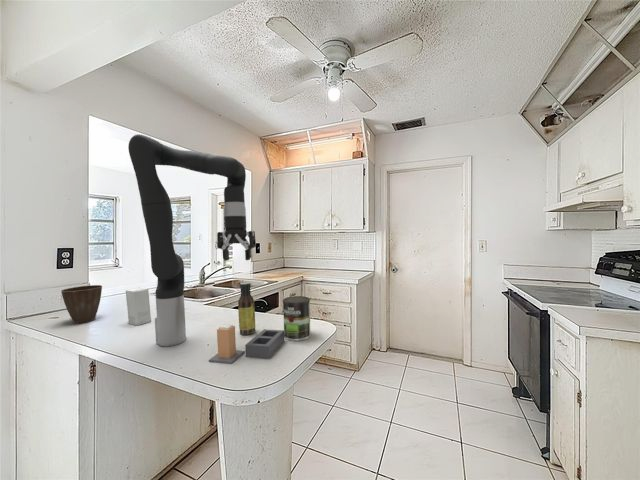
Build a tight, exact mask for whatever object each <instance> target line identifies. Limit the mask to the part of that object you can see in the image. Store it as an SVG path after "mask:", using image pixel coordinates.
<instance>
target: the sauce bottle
mask: <svg viewBox="0 0 640 480" xmlns="http://www.w3.org/2000/svg"><path fill="white" fill-rule="evenodd" d="M239 288H240V296H239V299H238V300H237V305H238V307H237V308H238V327H239V334H240V335H243V336H248V335H251V334H254V333H255V332H256V313H255V312H256V311H255V309H256V308H255V299H254V298H253V296H252V294H251V283H250V282H241V283H239Z"/></svg>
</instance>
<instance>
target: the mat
mask: <svg viewBox="0 0 640 480" xmlns="http://www.w3.org/2000/svg"><path fill="white" fill-rule="evenodd" d="M244 354H246V350H240V349H236V353H235V354H234V355H233V356H232V357H230V358H220V357H218V352H217V353H216V354H215V355H214V356H212V357H211V358H209V359H208V363H219V364H230V365H232V364H233V363H235V362H236V361H237V360H238V359H239V358H241V357H242V356H243V355H244Z"/></svg>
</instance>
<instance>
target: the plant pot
mask: <svg viewBox="0 0 640 480" xmlns="http://www.w3.org/2000/svg"><path fill="white" fill-rule="evenodd" d="M102 290H103V285H100V284H92V285H91V284H89V285H82V286H74V287H68V288H65V289H62V290H61V291H60V292H61V296H62V299H63V303H64V305H65V307H66V308H65V309H66V310H67V312H68V315H69V316H70V318H71V320H72V322H73V323H74V324H77V323H78V324H85V323H89V322H92V321H94V320H95V319H96V317H97V313H98V310H99V306H100V303H101V297H102Z"/></svg>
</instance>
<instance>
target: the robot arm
mask: <svg viewBox="0 0 640 480" xmlns="http://www.w3.org/2000/svg"><path fill="white" fill-rule="evenodd" d="M128 153H129V154H128V155H129V158H130V161H131V165H132V167H133V170H134V171H133V172H134V174H135V177H136V182H137V187H138V193H139V197H140V204H141V209H142V214H143V219H144V224H145V228H146V229H145V230H146V232H147V237H148V241H149V250H150V264H151V267H150V268H151V271H152V273H153V274H154V276H155V277H156V278H157V283H156V284H157V285H156V289H155V306H156V309H155V310H156V317H155V318H154V330H155V345H158V346H160V347H171V346H177V345H179V344H182V343H184V342H185V341H186V340H187V333H186V332H187V331H186V328H187V327H186V313H185V312H186V311H185V294H184V293H185V292H184V291H185V289H184V288H185V264H184V260H183V258H182V257H181V256H180V255H179V254H177V253H176V251H175V247H174V242H173V226H174V215H173V210H172V203H171V199H170V197H169V194H168V191H167V189H165V187H164V186H163V183H162V182H161V180H160V178H159V176H158V172H157V167H156V166H167V167H168V166H170V167H171V166H172V167H177V168H182V169H185V170H188V171H192V172H198V173H200V174H201V173H202V174H206V175H217V176H221V177H225V178H227V179H226V180H227V182H226V187H224V189H223V199H224V200H223V201H224V203H223V204H224V205H223V219H224V230H225V231H218V232H217V234H216V238H217V240H216V242H217V243H216V244H217V245H216V248H217V249H220V250H221V251H222V259H223V261H229V260H230V252H229V248H230V247H231V245H232V244H234V245H235V244H240V245H242V246H243V248H244V249H245V250H244V256H245V258H244V259H245V261H250V260H251V259H252V249H254V248H256V247H257V243H256V233H255V232H256V231H254V230H249V231H247V212H246V211H247V210H246V202H245V188H246V187H245V186H246V185H245V184H246V178H247V177H246V176H247V173H246V168H245V166H244V164H242V162H240V161H238V159H236V158H234V157H230V156H225V155H214V154H210V153H206V152H202V151H195V150H182V149H177V148H173V147H171V146H168V145H165V144H163V143H161V142H159V140H157V139H154V138H151V137H150V136H147V135H144V134H134V135H133V136H132V137H131V138H130V139H129V142H128ZM247 237H248V239H247ZM225 238H226V239H225Z"/></svg>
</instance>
